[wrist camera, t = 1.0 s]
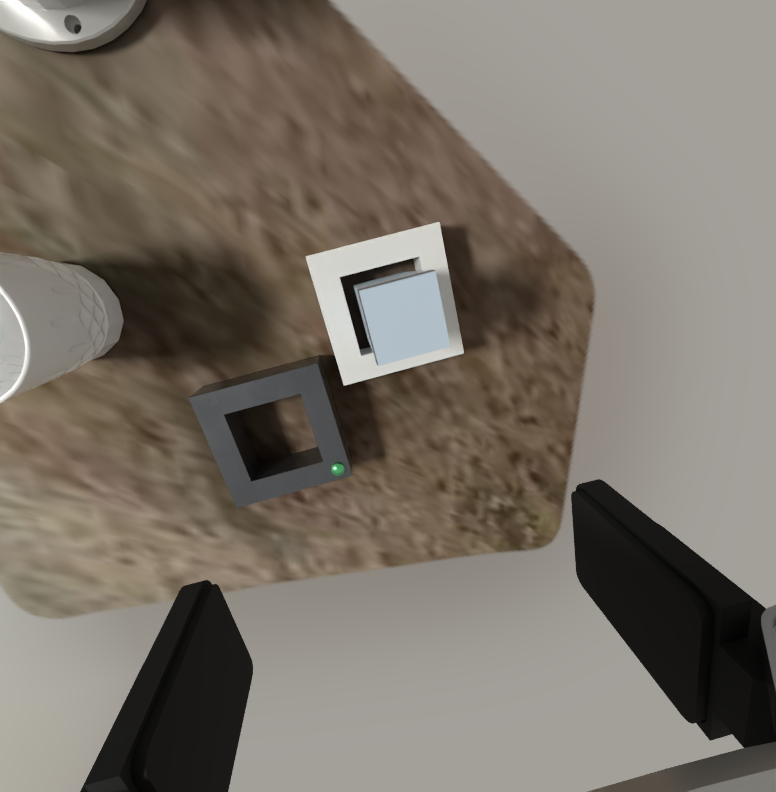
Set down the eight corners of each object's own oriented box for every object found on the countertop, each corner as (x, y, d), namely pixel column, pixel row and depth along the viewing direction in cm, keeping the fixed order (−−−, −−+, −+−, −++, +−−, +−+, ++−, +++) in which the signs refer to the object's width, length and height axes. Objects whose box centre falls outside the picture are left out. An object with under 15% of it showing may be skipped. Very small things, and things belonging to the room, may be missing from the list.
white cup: (20, 232, 26) (-165, 209, 16) (146, 282, 28) (44, 287, 18) (-1, 342, 28) (-178, 379, 18) (118, 383, 29) (13, 435, 20)
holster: (308, 257, 28) (305, 256, 26) (431, 226, 29) (439, 221, 26) (343, 377, 31) (343, 385, 29) (454, 347, 32) (463, 353, 29)
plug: (352, 284, 29) (357, 290, 20) (405, 270, 29) (436, 269, 20) (366, 337, 31) (378, 367, 21) (417, 324, 31) (451, 347, 21)
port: (203, 386, 30) (187, 399, 27) (319, 355, 30) (317, 364, 27) (245, 487, 33) (235, 509, 30) (351, 458, 33) (352, 476, 30)
